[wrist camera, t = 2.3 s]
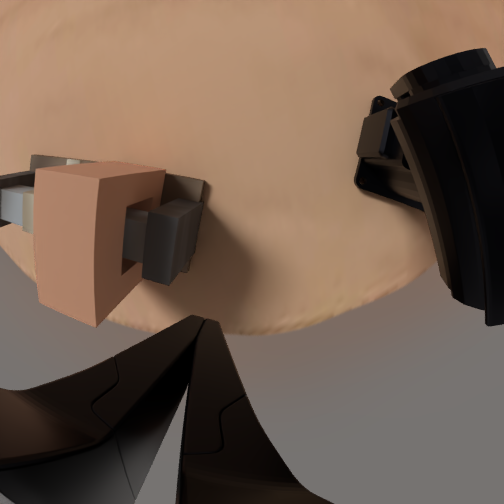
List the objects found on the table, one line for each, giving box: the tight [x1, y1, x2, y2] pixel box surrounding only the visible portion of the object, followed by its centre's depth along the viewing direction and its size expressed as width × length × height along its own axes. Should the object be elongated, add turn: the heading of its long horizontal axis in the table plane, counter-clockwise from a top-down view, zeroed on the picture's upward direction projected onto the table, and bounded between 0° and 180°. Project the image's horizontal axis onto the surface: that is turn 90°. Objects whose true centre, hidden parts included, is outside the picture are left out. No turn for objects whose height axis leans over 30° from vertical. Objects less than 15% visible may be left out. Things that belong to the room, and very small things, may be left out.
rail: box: [0, 155, 205, 286], centre depth 16 cm, size 16×6×5 cm, turn 77°
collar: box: [33, 161, 166, 328], centre depth 14 cm, size 4×7×8 cm, turn 167°
